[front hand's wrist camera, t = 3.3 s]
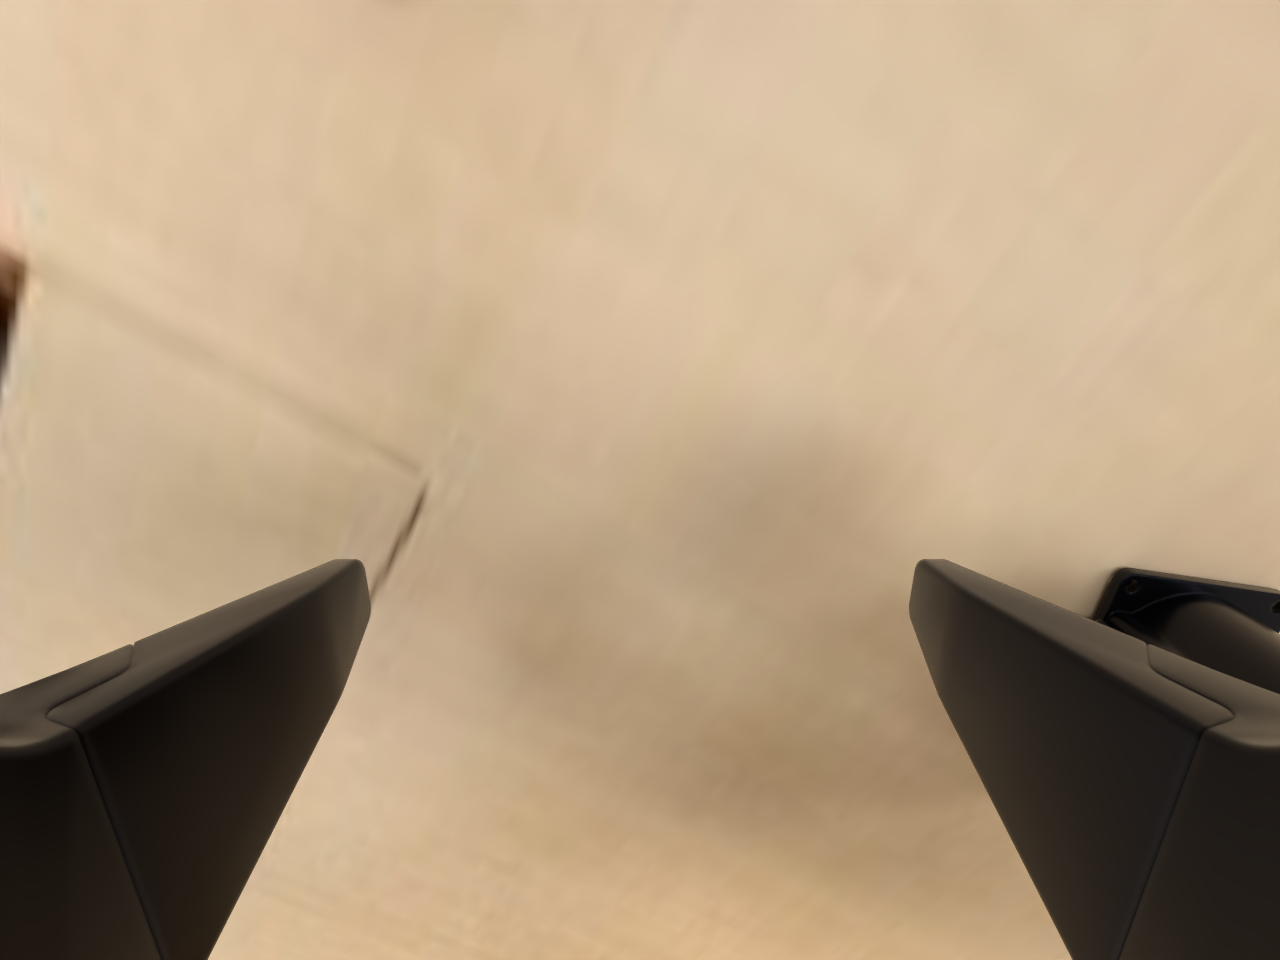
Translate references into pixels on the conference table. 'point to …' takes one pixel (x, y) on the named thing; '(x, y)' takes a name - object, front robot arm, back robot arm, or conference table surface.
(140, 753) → the front robot arm
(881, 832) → the conference table surface
